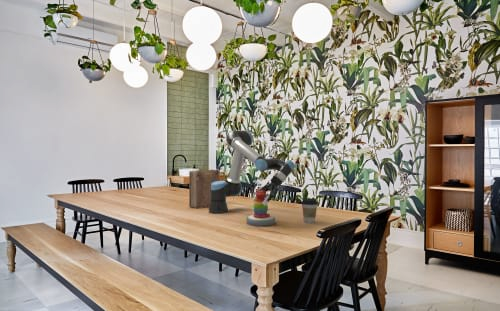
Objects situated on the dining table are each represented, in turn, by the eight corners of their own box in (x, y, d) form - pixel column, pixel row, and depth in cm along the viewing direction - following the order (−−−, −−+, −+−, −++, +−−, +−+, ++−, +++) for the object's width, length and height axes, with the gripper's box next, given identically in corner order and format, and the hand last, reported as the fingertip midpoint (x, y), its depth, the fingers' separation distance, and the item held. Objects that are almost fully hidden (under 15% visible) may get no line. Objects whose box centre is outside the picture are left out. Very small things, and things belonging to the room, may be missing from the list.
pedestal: (241, 224, 228) (241, 217, 228) (256, 218, 244) (256, 213, 244) (266, 227, 217) (266, 221, 217) (280, 222, 233) (280, 216, 233)
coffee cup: (307, 224, 228) (307, 201, 227) (297, 220, 238) (297, 199, 238) (321, 222, 233) (321, 200, 233) (311, 219, 243) (311, 197, 243)
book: (196, 208, 283) (196, 171, 282) (189, 207, 289) (189, 171, 288) (219, 204, 302) (219, 170, 301) (211, 203, 308) (211, 169, 307)
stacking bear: (270, 216, 233) (270, 189, 233) (266, 219, 224) (266, 191, 223) (255, 215, 237) (255, 189, 237) (250, 217, 228) (250, 190, 227)
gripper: (291, 184, 226) (271, 209, 219) (272, 181, 248) (253, 203, 242) (285, 177, 223) (264, 202, 217) (265, 174, 245) (246, 196, 239)
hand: (258, 203), depth 229 cm, fingers open, 13 cm apart
